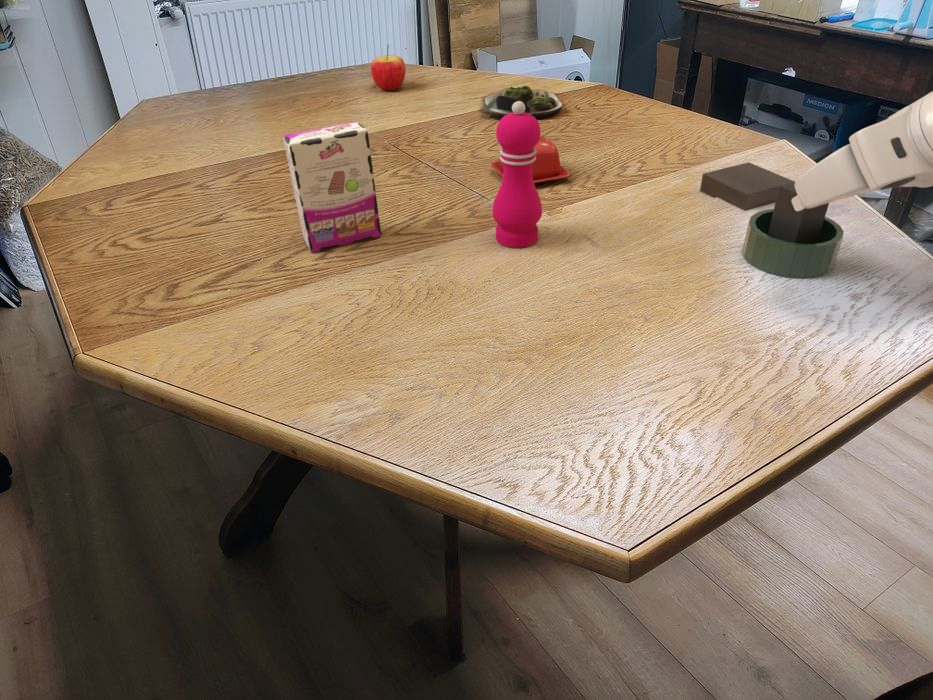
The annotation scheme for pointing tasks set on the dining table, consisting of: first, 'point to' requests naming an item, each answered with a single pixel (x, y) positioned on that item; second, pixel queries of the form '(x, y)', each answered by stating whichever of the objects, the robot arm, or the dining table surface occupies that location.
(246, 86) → the dining table surface
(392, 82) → the apple
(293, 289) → the dining table surface
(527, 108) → the salad plate
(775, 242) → the tin
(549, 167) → the butter dish
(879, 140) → the robot arm
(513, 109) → the pepper mill
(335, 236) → the candy bar box
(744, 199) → the stand
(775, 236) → the dark brown block
